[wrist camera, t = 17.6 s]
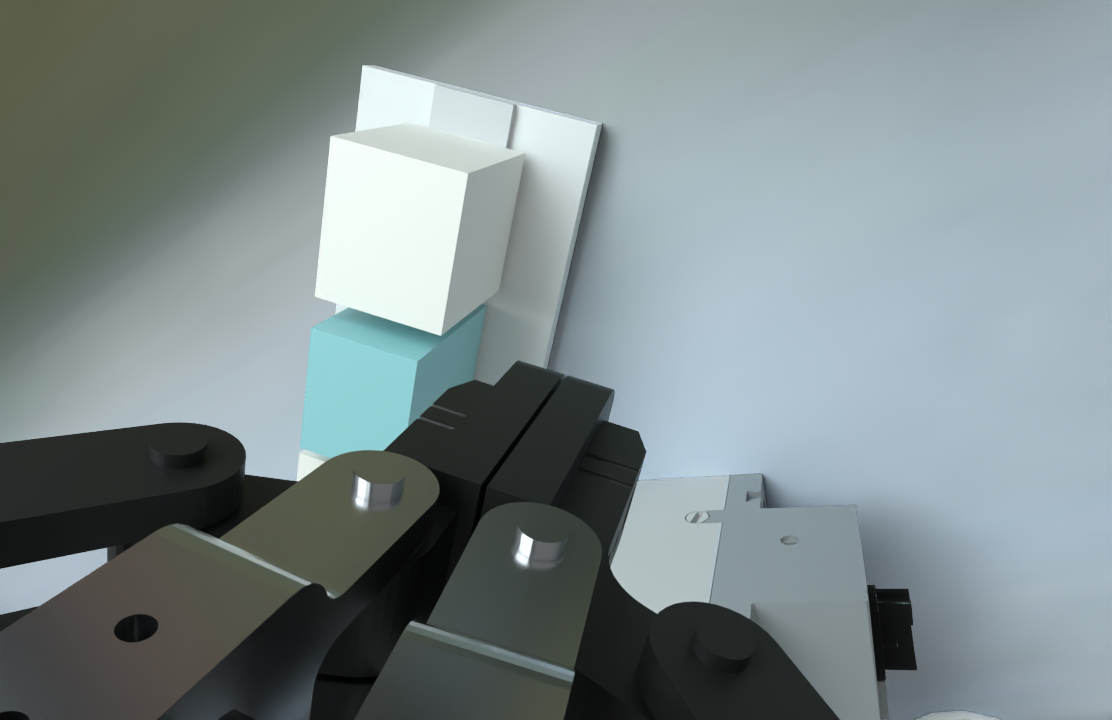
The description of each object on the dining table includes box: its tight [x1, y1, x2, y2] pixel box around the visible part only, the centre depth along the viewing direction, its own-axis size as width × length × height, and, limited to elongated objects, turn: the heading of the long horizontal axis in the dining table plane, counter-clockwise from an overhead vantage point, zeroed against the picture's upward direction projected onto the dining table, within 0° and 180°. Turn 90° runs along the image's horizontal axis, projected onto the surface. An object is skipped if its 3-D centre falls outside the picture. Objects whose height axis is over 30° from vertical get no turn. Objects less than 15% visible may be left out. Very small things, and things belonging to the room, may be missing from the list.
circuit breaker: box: [610, 473, 917, 720], centre depth 38 cm, size 8×14×15 cm, turn 102°
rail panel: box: [297, 65, 602, 481], centre depth 41 cm, size 26×12×9 cm, turn 168°
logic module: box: [300, 304, 487, 458], centre depth 40 cm, size 6×5×8 cm
